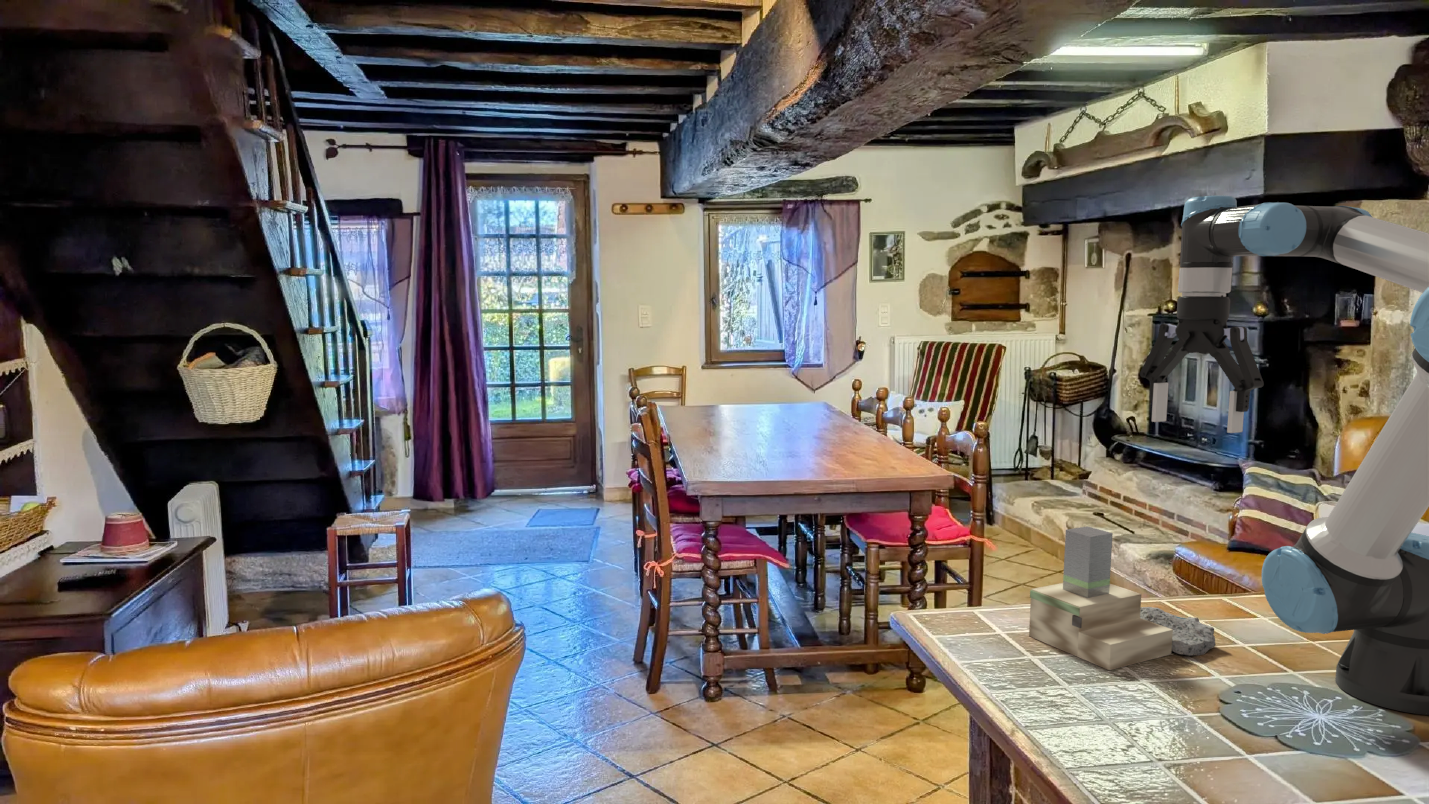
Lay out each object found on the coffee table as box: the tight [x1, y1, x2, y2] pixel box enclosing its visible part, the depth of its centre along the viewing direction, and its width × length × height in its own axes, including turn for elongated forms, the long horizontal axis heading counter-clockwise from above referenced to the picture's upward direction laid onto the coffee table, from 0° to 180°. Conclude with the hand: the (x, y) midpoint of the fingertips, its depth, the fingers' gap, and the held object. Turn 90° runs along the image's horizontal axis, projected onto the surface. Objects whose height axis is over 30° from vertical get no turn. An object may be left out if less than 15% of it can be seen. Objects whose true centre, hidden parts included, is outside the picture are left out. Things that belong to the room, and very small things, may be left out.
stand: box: [1028, 582, 1173, 671], centre depth 154 cm, size 16×14×8 cm
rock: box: [1140, 606, 1216, 656], centre depth 156 cm, size 13×10×5 cm
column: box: [1062, 526, 1114, 598], centre depth 155 cm, size 5×5×10 cm
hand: (1195, 426), depth 156 cm, fingers open, 13 cm apart
